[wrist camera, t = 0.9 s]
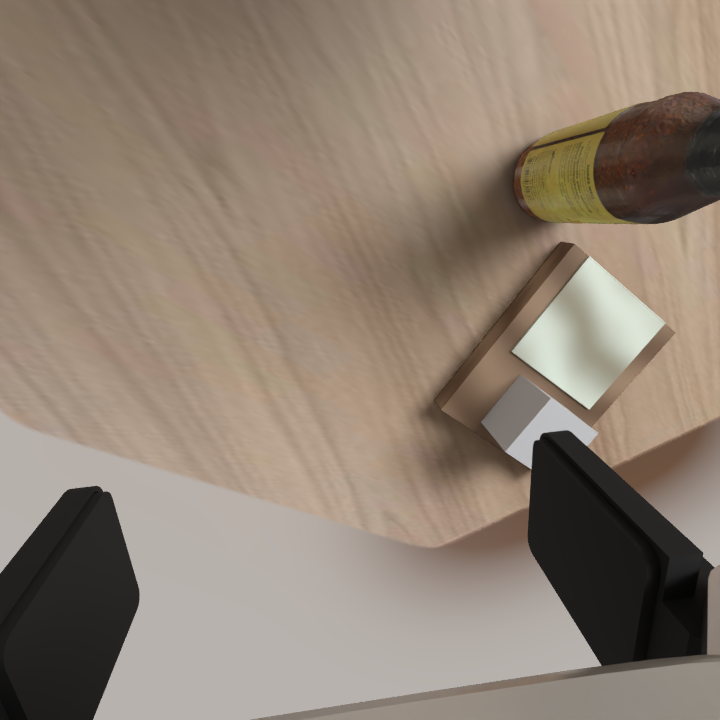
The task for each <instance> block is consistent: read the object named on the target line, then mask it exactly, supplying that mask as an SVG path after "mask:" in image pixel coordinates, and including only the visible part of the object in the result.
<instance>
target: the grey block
mask: <svg viewBox="0 0 720 720" xmlns="http://www.w3.org/2000/svg"><path fill="white" fill-rule="evenodd" d="M481 423H482V424H483V425H484V426H485V428H486V429H487V430H488V431H489V433H490V434H491V435H492V436H493V438H494V439H495V440H496V441H497V442H498V444H499V445H500V446H501V447H502V449H503V450H504V451H505V452H506V453H508V454H509V455H511V456H512V457H514V458H515V459H517V460H518V461H520V462H521V463H523V464H524V465H526V466H527V467H529V468H530V469H532V452H533V443H534V441H536V440H540V436H541V434H543V433H547V432H555V431H564V430H569V431H570V432H572V433H573V434H574V435H575V436H576V437H577V438H578V439H579V440H581V441H582V442H583V443H584V444H585V445H586V446H588V444H589V443H590V442H591V441H592V440H593V439H594V438H595V437H596V436H597V434H598V433H597V432H596V431H595V430H594V429H592V428H591V427H590V426H588V425H587V424H586V423H585V422H583V421H582V420H581V419H580V418H578V417H577V416H576V415H574V414H573V413H572V412H571V411H569V410H568V409H567V408H566V407H564V406H563V405H562V404H560V403H559V402H558V401H556V400H555V399H553V398H552V397H551V396H549V395H548V394H547V393H545V392H544V391H543V390H541V389H540V388H539V387H537V386H536V385H534V384H533V383H532V382H530V381H529V380H528V379H526V378H525V377H524V376H522V375H521V374H520V375H519V377H518V378H517V379H516V380H515V382H514V383H513V384H512V385H511V386H510V388H509V389H508V390H507V391H506V392H505V394H504V395H503V396H502V397H501V398H500V400H499V401H498V402H497V403H496V404H495V406H494V407H493V408H492V409H491V410H490V412H489V413H488V414H487V415H486V416H485V418H484V419H483V420H482V421H481Z"/></svg>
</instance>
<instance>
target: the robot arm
mask: <svg viewBox="0 0 720 720" xmlns="http://www.w3.org/2000/svg"><path fill="white" fill-rule="evenodd" d="M528 543H529V546H530V550H531V552H532V554H533V556H534V557H535V559H536V560H537V562H538V564H539V565H540V567H541V569H542V570H543V571H544V573H545V575H546V576H547V578H548V580H549V581H550V583H551V585H552V586H553V588H554V589H555V591H556V593H557V594H558V596H559V597H560V599H561V601H562V602H563V604H564V606H565V607H566V609H567V610H568V612H569V614H570V615H571V617H572V618H573V620H574V622H575V623H576V625H577V626H578V628H579V630H580V631H581V633H582V635H583V636H584V638H585V639H586V641H587V643H588V644H589V646H590V647H591V649H592V651H593V652H594V654H595V655H596V657H597V659H598V660H599V662H600V663H601V665H602V666H599V667H591V668H584V669H577V670H569V671H562V672H555V673H549V674H542V675H536V676H529V677H522V678H516V679H509V680H502V681H496V682H489V683H483V684H476V685H469V686H463V687H457V688H450V689H443V690H437V691H430V692H423V693H417V694H411V695H404V696H398V697H391V698H385V699H379V700H372V701H366V702H360V703H353V704H346V705H340V706H334V707H328V708H321V709H315V710H309V711H302V712H296V713H290V714H284V715H277V716H271V717H265V718H259V719H252V720H720V565H718V566H717V567H715V568H714V567H713V566H712V565H711V564H710V563H709V562H708V561H707V560H706V559H704V558H703V552H702V551H700V549H698V548H697V547H696V546H695V545H694V544H693V543H692V542H691V541H690V540H689V539H688V538H687V537H685V536H684V535H683V534H682V533H681V532H680V531H679V530H678V529H677V528H676V527H674V526H673V525H672V524H671V523H670V522H669V521H668V520H667V519H666V518H665V517H664V516H662V515H661V514H660V513H659V512H658V511H657V510H656V509H655V508H654V507H653V506H652V505H650V504H649V503H648V502H647V501H646V500H645V499H644V498H643V497H642V496H641V495H640V494H638V493H637V492H636V491H635V490H634V489H633V488H632V487H631V486H630V485H629V484H627V483H626V482H625V481H624V480H623V479H622V478H621V477H620V476H619V475H618V474H617V473H616V472H614V471H613V470H612V469H611V468H610V467H609V466H608V465H607V464H606V463H605V462H604V461H602V460H601V459H600V458H599V457H598V456H597V455H596V454H595V453H594V452H593V451H591V450H590V449H589V448H588V447H587V446H586V445H585V444H584V443H583V442H582V441H581V440H579V439H578V438H577V437H576V436H575V435H574V434H573V433H572V432H570V431H569V430H564V431H555V432H547V433H543V434H541V436H540V440H536V441H534V443H533V452H532V469H531V487H530V505H529V522H528ZM138 604H139V588H138V584H137V581H136V578H135V574H134V570H133V567H132V564H131V560H130V557H129V554H128V550H127V547H126V543H125V540H124V537H123V533H122V529H121V526H120V523H119V519H118V516H117V513H116V509H115V506H114V502H113V499H112V496H111V494H110V493H109V492H103V491H102V489H101V488H100V487H98V486H92V487H84V488H76V489H69V490H67V491H66V492H65V493H64V494H63V495H62V497H61V498H60V499H59V500H58V502H57V503H56V504H55V506H54V507H53V508H52V509H51V511H50V512H49V513H48V514H47V516H46V517H45V518H44V519H43V521H42V522H41V523H40V524H39V526H38V527H37V528H36V530H35V531H34V532H33V533H32V535H31V536H30V537H29V538H28V539H27V541H26V542H25V543H24V545H23V546H22V547H21V548H20V550H19V551H18V552H17V553H16V555H15V556H14V557H13V558H12V560H11V561H10V562H9V564H8V565H7V566H6V567H5V569H4V570H3V571H2V572H1V573H0V720H93V718H94V715H95V713H96V710H97V708H98V705H99V703H100V700H101V698H102V696H103V693H104V691H105V688H106V686H107V683H108V680H109V678H110V675H111V673H112V671H113V668H114V665H115V663H116V661H117V658H118V656H119V653H120V651H121V648H122V645H123V643H124V641H125V638H126V636H127V633H128V631H129V628H130V626H131V623H132V621H133V618H134V616H135V613H136V611H137V608H138Z"/></svg>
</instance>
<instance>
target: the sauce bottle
mask: <svg viewBox="0 0 720 720" xmlns="http://www.w3.org/2000/svg"><path fill="white" fill-rule="evenodd" d="M514 192H515V195H516V198H517V200H518V202H519V204H520V206H521V207H522V208H523V209H524V210H525V211H526V212H527V213H528V214H529V215H531V216H532V217H534V218H537V219H543V220H545V221H548V222H555V223H598V224H658V223H664V222H669V221H672V220H675V219H678V218H680V217H682V216H685V215H687V214H689V213H691V212H693V211H696V210H698V209H700V208H702V207H705V206H707V205H709V204H712V203H714V202H716V201H718V200H720V99H717V98H715V97H712V96H710V95H707V94H705V93H699V92H683V93H679V94H675V95H670V96H666V97H664V98H662V99H659V100H657V101H652V102H645V103H640V104H636V105H633V106H630V107H627V108H624V109H621V110H618V111H615V112H612V113H609V114H606V115H603V116H600V117H597V118H594V119H591V120H588V121H585V122H582V123H579V124H576V125H573V126H570V127H567V128H564V129H561V130H558V131H555V132H552V133H550V134H548V135H546V136H544V137H543V138H541V139H540V140H538V141H536V142H535V143H534V144H533V145H531V146H530V147H529V148H528V149H527V150H526V151H525V152H524V153H523V154H522V155H521V157H520V159H519V161H518V163H517V166H516V170H515V177H514Z"/></svg>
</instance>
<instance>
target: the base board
mask: <svg viewBox="0 0 720 720" xmlns="http://www.w3.org/2000/svg"><path fill="white" fill-rule="evenodd" d="M674 334H675V332H674V331H673V330H672V329H671V328H670V327H669V326H668V325H666V324H665V322H664V321H663V320H662V319H661V318H660V317H658V316H657V315H656V314H655V313H654V312H653V311H652V310H650V309H649V308H648V307H647V306H646V305H645V304H644V303H642V302H641V301H640V300H639V299H638V298H637V297H636V296H634V295H633V294H632V293H631V292H630V291H629V290H628V289H627V288H625V287H624V286H623V285H622V284H621V283H620V282H619V281H617V280H616V279H615V278H614V277H613V276H612V275H611V274H609V273H608V272H607V271H606V270H605V269H604V268H603V267H601V266H600V265H599V264H598V263H597V262H596V261H595V260H594V259H592V258H591V257H590V256H588V255H587V254H586V253H584V252H583V251H582V250H581V249H580V248H579V247H578V246H576V245H575V244H572V243H566V242H560V244H559V245H558V246H557V247H556V249H555V250H554V251H553V252H552V254H551V255H550V256H549V257H548V259H547V260H546V261H545V262H544V264H543V265H542V266H541V267H540V269H539V270H538V271H537V272H536V274H535V275H534V276H533V277H532V279H531V280H530V281H529V282H528V284H527V285H526V286H525V288H524V289H523V290H522V291H521V293H520V294H519V295H518V296H517V298H516V299H515V300H514V301H513V303H512V304H511V305H510V306H509V308H508V309H507V310H506V311H505V313H504V314H503V315H502V316H501V318H500V319H499V320H498V321H497V323H496V324H495V325H494V326H493V328H492V329H491V330H490V331H489V333H488V334H487V335H486V336H485V338H484V339H483V340H482V341H481V343H480V344H479V345H478V346H477V348H476V349H475V350H474V351H473V353H472V354H471V355H470V356H469V358H468V359H467V360H466V361H465V363H464V364H463V365H462V366H461V368H460V369H459V370H458V371H457V373H456V374H455V375H454V376H453V378H452V379H451V380H450V381H449V383H448V384H447V385H446V386H445V388H444V389H443V390H442V391H441V393H440V394H439V395H438V396H437V398H436V399H435V401H436V403H437V404H438V406H439V407H440V409H441V410H442V411H444V412H445V413H447V414H448V415H450V416H451V417H453V418H454V419H456V420H457V421H459V422H460V423H462V424H463V425H465V426H466V427H468V428H469V429H471V430H472V431H474V432H475V433H477V434H478V435H480V436H481V437H483V438H484V439H486V440H487V441H489V442H490V443H492V444H493V445H495V446H496V447H498V448H499V449H501V450H502V451H504V450H503V449H502V447H501V446H500V445H499V444H498V442H497V441H496V440H495V439H494V438H493V436H492V435H491V434H490V433H489V431H488V430H487V429H486V428H485V426H484V425H483V424H482V423H481V421H482V420H483V419H484V418H485V416H486V415H487V414H488V413H489V412H490V410H491V409H492V408H493V407H494V406H495V404H496V403H497V402H498V401H499V400H500V398H501V397H502V396H503V395H504V394H505V392H506V391H507V390H508V389H509V388H510V386H511V385H512V384H513V383H514V382H515V380H516V379H517V378H518V377H519V375H520V374H521V375H522V376H524V377H525V378H526V379H528V380H529V381H530V382H532V383H533V384H534V385H536V386H537V387H539V388H540V389H541V390H543V391H544V392H545V393H547V394H548V395H549V396H551V397H552V398H553V399H555V400H556V401H558V402H559V403H560V404H562V405H563V406H564V407H566V408H567V409H568V410H569V411H571V412H572V413H573V414H574V415H576V416H577V417H578V418H580V419H581V420H582V421H583V422H585V423H586V424H587V425H588V426H590V427H592V426H593V425H594V424H595V423H596V422H597V420H598V419H599V418H600V417H601V416H602V415H603V414H604V413H605V411H606V410H607V409H608V408H609V407H610V406H611V405H612V404H613V402H614V401H615V400H616V399H617V398H618V397H619V396H620V395H621V393H622V392H623V391H624V390H625V389H626V388H627V387H628V386H629V384H630V383H631V382H632V381H633V380H634V379H635V378H636V377H637V375H638V374H639V373H640V372H641V371H642V370H643V369H644V368H645V367H646V365H647V364H648V363H649V362H650V361H651V360H652V359H653V358H654V356H655V355H656V354H657V353H658V352H659V351H660V350H661V349H662V347H663V346H664V345H665V344H666V343H667V342H668V341H669V340H670V338H671V337H672V336H673V335H674ZM504 452H505V451H504ZM505 453H506V452H505ZM507 454H508V453H507ZM508 455H509V454H508ZM510 456H511V455H510ZM511 457H512V456H511ZM513 458H514V457H513ZM514 459H515V458H514ZM516 460H517V459H516ZM517 461H518V460H517ZM519 462H520V461H519ZM520 463H521V462H520ZM522 464H523V463H522ZM523 465H524V464H523ZM525 466H526V465H525ZM526 467H527V466H526ZM528 468H529V467H528ZM529 469H530V468H529Z"/></svg>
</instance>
